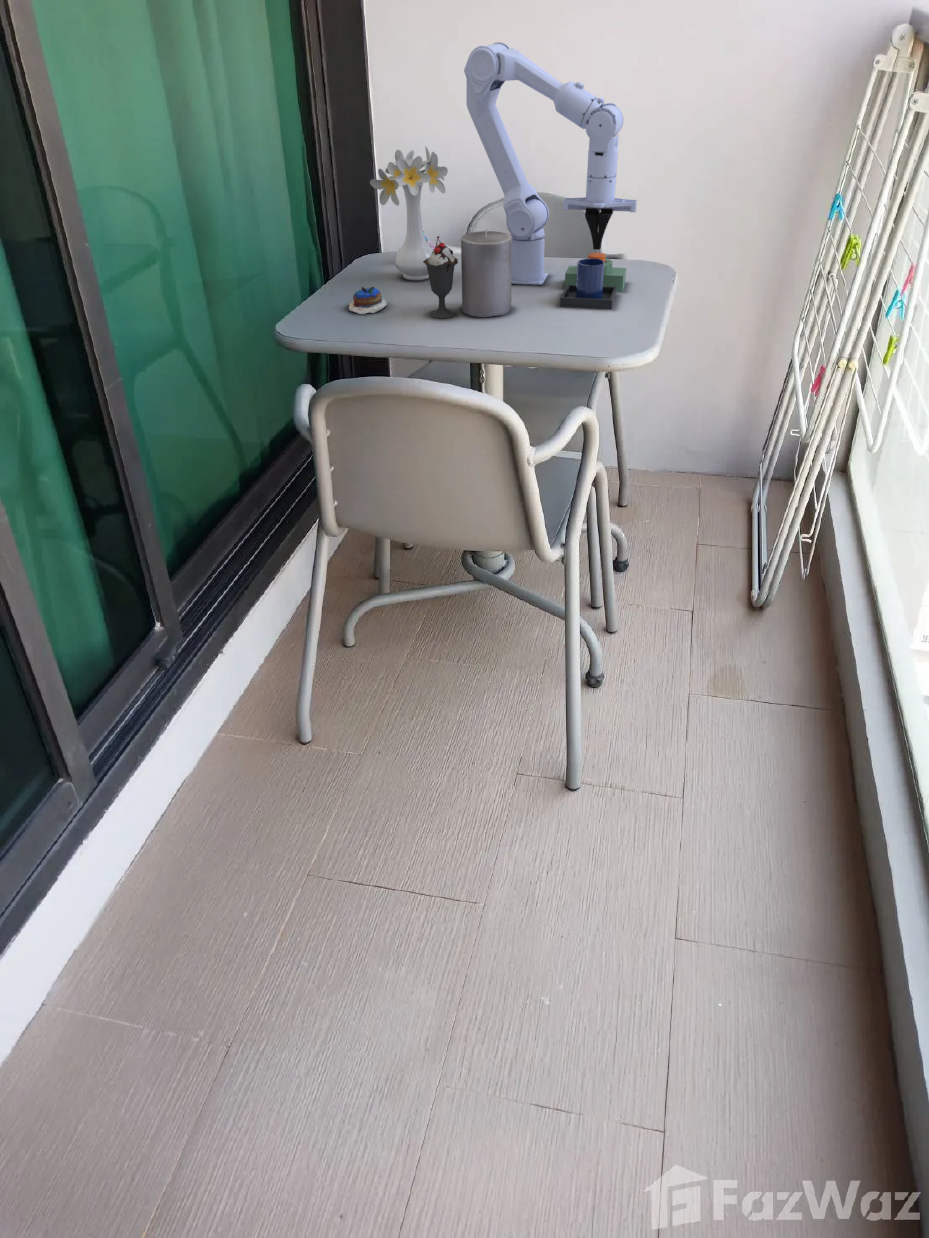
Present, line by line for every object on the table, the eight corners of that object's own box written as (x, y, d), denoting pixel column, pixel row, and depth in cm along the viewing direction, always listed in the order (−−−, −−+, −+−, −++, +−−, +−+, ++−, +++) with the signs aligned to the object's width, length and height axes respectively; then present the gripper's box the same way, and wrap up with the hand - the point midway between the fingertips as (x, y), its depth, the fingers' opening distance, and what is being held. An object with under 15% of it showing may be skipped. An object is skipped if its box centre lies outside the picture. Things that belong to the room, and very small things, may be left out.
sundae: (434, 322, 173) (431, 239, 164) (419, 312, 177) (415, 232, 169) (465, 316, 175) (463, 234, 166) (449, 307, 180) (447, 227, 171)
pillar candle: (475, 300, 183) (473, 222, 174) (519, 306, 179) (520, 226, 171) (453, 314, 176) (451, 233, 167) (499, 320, 172) (499, 237, 164)
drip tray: (559, 307, 178) (560, 297, 177) (566, 293, 186) (567, 284, 184) (611, 309, 176) (612, 300, 175) (616, 295, 183) (617, 286, 182)
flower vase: (371, 286, 193) (360, 157, 178) (410, 264, 206) (403, 142, 192) (425, 292, 188) (418, 160, 174) (461, 269, 202) (458, 145, 187)
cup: (574, 301, 179) (575, 265, 175) (577, 293, 183) (579, 258, 179) (600, 303, 178) (603, 266, 174) (603, 295, 182) (606, 259, 178)
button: (586, 265, 185) (587, 256, 184) (588, 261, 188) (589, 252, 187) (604, 266, 185) (604, 257, 184) (606, 261, 187) (606, 253, 186)
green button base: (564, 289, 188) (565, 264, 185) (568, 280, 193) (569, 256, 190) (622, 292, 185) (624, 267, 182) (625, 283, 190) (627, 258, 187)
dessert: (369, 295, 185) (377, 274, 180) (388, 319, 184) (396, 299, 179) (338, 307, 181) (345, 286, 176) (358, 331, 180) (365, 311, 175)
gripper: (561, 178, 175) (558, 252, 183) (637, 180, 172) (630, 254, 180) (567, 172, 181) (564, 243, 189) (640, 173, 178) (633, 246, 186)
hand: (597, 248), depth 185 cm, fingers closed
